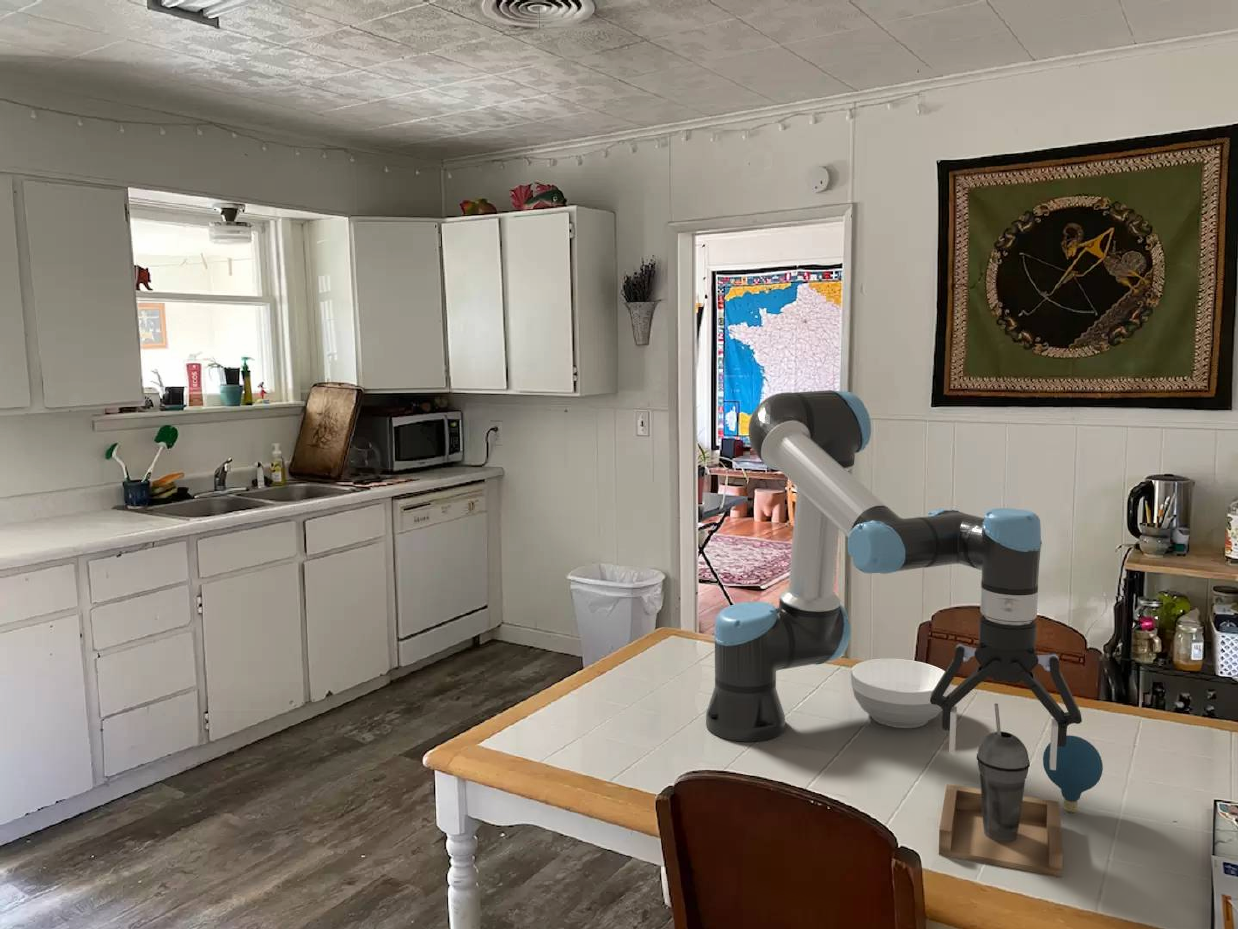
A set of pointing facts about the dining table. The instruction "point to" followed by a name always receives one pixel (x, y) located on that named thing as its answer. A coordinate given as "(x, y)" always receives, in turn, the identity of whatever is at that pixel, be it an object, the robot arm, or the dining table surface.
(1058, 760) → the light bulb
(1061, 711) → the robot arm
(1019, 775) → the beverage cup
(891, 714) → the bowl
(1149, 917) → the dining table surface
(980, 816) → the u rest
